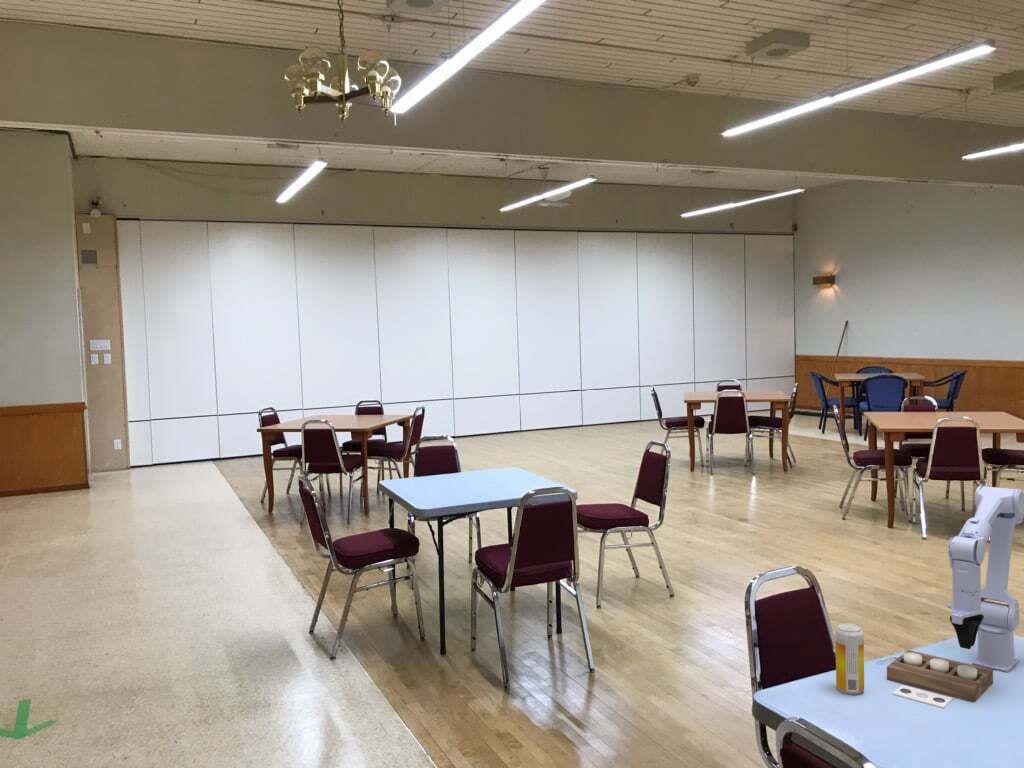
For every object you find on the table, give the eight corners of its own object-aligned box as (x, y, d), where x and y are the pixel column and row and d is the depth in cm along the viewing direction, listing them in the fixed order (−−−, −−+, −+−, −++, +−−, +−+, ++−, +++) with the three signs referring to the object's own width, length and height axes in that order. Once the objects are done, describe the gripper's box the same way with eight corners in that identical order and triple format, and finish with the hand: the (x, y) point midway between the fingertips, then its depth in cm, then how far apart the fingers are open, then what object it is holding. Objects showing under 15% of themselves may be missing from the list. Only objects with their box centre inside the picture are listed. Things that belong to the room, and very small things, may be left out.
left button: (907, 661, 199) (907, 651, 199) (924, 665, 196) (924, 655, 196) (901, 665, 196) (901, 655, 196) (918, 670, 193) (918, 660, 193)
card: (902, 686, 190) (902, 684, 190) (952, 699, 182) (952, 697, 182) (892, 694, 186) (892, 692, 186) (943, 708, 178) (943, 706, 178)
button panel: (908, 662, 204) (908, 649, 204) (993, 682, 190) (993, 669, 190) (887, 679, 194) (886, 666, 194) (974, 702, 180) (974, 688, 180)
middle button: (933, 667, 195) (933, 657, 195) (951, 671, 192) (951, 661, 192) (927, 672, 192) (927, 662, 192) (945, 677, 189) (945, 666, 189)
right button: (960, 674, 190) (960, 663, 190) (979, 678, 188) (979, 668, 187) (955, 679, 188) (954, 668, 188) (974, 684, 185) (974, 673, 185)
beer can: (859, 684, 191) (858, 622, 191) (868, 695, 185) (867, 631, 185) (833, 684, 192) (832, 622, 191) (840, 695, 186) (839, 631, 185)
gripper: (957, 578, 195) (958, 633, 195) (937, 592, 184) (937, 651, 185) (990, 584, 190) (991, 640, 190) (971, 598, 179) (971, 658, 180)
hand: (966, 646), depth 187 cm, fingers closed
